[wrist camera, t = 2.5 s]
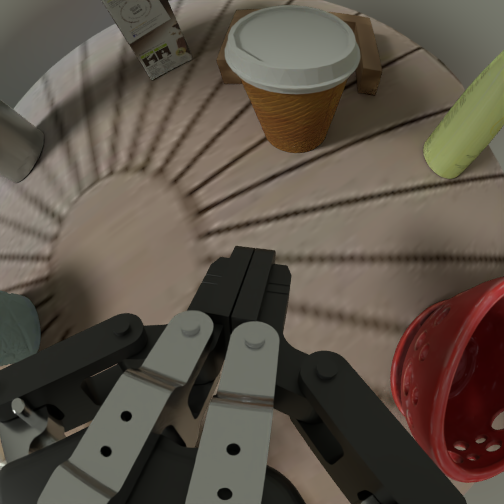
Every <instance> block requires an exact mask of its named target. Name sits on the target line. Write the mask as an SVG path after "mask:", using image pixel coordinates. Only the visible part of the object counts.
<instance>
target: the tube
mask: <svg viewBox="0 0 504 504" xmlns="http://www.w3.org/2000/svg"><path fill="white" fill-rule="evenodd" d="M503 125H504V50H503V51H502V52H501V53H500V54H499V55H498V56H497V57H496V58H495V59H494V60H493V61H492V62H491V63H490V64H489V65H488V66H487V67H486V68H485V69H484V70H483V71H482V72H481V73H480V75H479V76H478V77H477V78H476V79H475V80H474V81H473V82H472V84H471V85H470V86H469V87H468V88H467V89H466V91H465V92H464V93H463V94H462V96H461V97H460V98H459V99H458V100H457V102H456V103H455V104H454V106H453V107H452V108H451V109H450V111H449V112H448V113H447V114H446V116H445V117H444V118H443V120H442V121H441V122H440V124H439V125H438V126H437V127H436V129H435V130H434V131H433V133H432V134H431V135H430V137H429V138H428V139H427V141H426V142H425V144H424V157H425V160H426V162H427V164H428V165H429V167H430V168H431V169H432V170H433V171H434V172H435V173H436V174H438V175H439V176H441V177H443V178H447V179H453V178H455V177H457V176H458V175H459V174H461V173H462V172H463V171H464V170H465V169H466V168H467V167H468V166H469V165H470V164H471V163H472V162H473V161H474V160H475V159H476V157H477V156H478V155H479V154H480V153H481V152H482V151H483V150H484V149H485V148H486V146H487V145H488V144H489V143H490V142H491V140H492V139H493V138H494V137H495V135H496V134H497V133H498V132H499V131H500V129H501V128H502V126H503Z"/></svg>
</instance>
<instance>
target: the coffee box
mask: <svg viewBox="0 0 504 504" xmlns="http://www.w3.org/2000/svg"><path fill="white" fill-rule="evenodd" d="M101 1H102V2H103V4H104V5H105V7H106V9H107V10H108V12H109V13H110V15H111V17H112V18H113V20H114V21H115V23H116V25H117V26H118V28H119V29H120V31H121V32H122V34H123V36H124V37H125V39H126V40H127V42H128V44H129V45H130V47H131V48H132V50H133V51H134V53H135V55H136V56H137V58H138V59H139V61H140V63H141V64H142V66H143V67H144V69H145V71H146V72H147V74H148V75H149V77H150V79H151V80H153V79H155V78H157V77H159V76H161V75H162V74H164V73H166V72H168V71H170V70H172V69H174V68H176V67H178V66H179V65H181V64H184V63H186V62H188V61H190V60H191V59H192V56H191V53H190V51H189V49H188V46H187V44H186V41H185V39H184V37H183V34H182V32H181V30H180V27H179V25H178V23H177V21H176V18H175V16H174V14H173V11H172V9H171V7H170V4H169V2H168V0H101Z"/></svg>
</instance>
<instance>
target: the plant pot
mask: <svg viewBox="0 0 504 504" xmlns="http://www.w3.org/2000/svg"><path fill="white" fill-rule="evenodd" d="M390 381H391V391H392V395H393V399H394V401H395V403H396V405H397V407H398V409H399V410H400V412H401V413H402V414H403V415H404V416H405V418H406V421H407V423H408V426H409V428H410V430H411V433H412V435H413V437H414V438H415V440H416V441H417V443H418V444H419V445H420V447H421V448H422V449H423V450H424V451H425V452H426V454H427V455H428V456H429V457H430V458H431V459H432V460H433V462H434V463H435V464H436V465H437V466H438V467H439V469H440V470H441V471H442V472H443V473H444V474H445V475H446V476H447V477H449V478H451V479H453V480H456V481H459V482H465V483H469V482H479V481H483V480H486V479H489V478H492V477H494V476H496V475H497V474H499V473H501V472H503V471H504V429H500V430H495V429H493V428H492V423H493V421H494V419H495V418H496V417H497V416H498V415H499V414H500V413H501V412H503V411H504V276H503V277H500V278H496V279H493V280H490V281H487V282H484V283H482V284H479V285H477V286H475V287H473V288H471V289H469V290H466V291H464V292H462V293H460V294H458V295H456V296H454V297H452V298H451V299H448V300H444V301H441V302H438V303H436V304H434V305H432V306H430V307H428V308H427V309H426V310H424V311H423V312H422V313H421V314H420V315H418V316H417V317H416V318H415V319H414V321H413V322H412V323H411V324H410V325H409V327H408V328H407V329H406V331H405V332H404V334H403V336H402V337H401V339H400V341H399V343H398V346H397V348H396V351H395V354H394V357H393V361H392V367H391V377H390ZM480 438H485V439H486V440H485V442H483V443H479V444H478V443H476V440H478V439H480ZM492 445H500V446H501V447H500V448H499V449H498V450H496V451H492V452H489V451H487V450H486V449H487V448H489V447H490V446H492ZM456 446H460V447H463V448H465V449H466V450H463V451H462V450H458V449H456V448H454V447H456ZM469 459H474V460H469Z"/></svg>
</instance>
